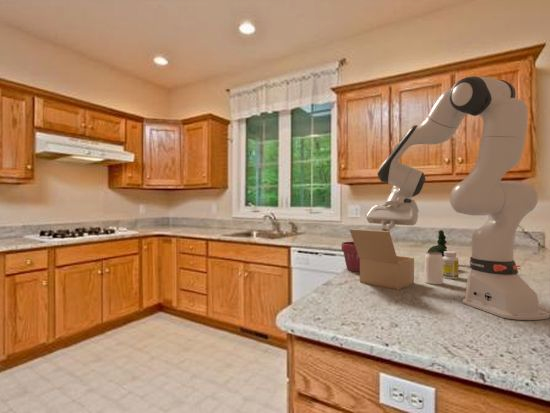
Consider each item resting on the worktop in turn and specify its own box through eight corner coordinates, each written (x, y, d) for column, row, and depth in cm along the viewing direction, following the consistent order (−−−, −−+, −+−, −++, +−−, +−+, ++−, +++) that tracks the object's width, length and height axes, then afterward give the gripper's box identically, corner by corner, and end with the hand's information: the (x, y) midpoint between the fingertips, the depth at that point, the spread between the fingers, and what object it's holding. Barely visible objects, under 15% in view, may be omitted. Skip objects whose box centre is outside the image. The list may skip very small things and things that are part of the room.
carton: (376, 276, 140) (377, 253, 140) (413, 283, 129) (414, 258, 129) (359, 282, 130) (359, 257, 130) (398, 289, 119) (398, 262, 119)
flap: (350, 228, 125) (349, 229, 125) (389, 231, 114) (388, 232, 113) (359, 257, 130) (359, 258, 130) (398, 262, 119) (397, 263, 119)
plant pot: (335, 268, 158) (335, 242, 158) (358, 265, 164) (358, 240, 164) (354, 274, 145) (354, 245, 145) (378, 271, 151) (378, 243, 151)
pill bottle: (454, 276, 141) (454, 250, 140) (461, 279, 134) (461, 253, 134) (439, 275, 141) (439, 250, 141) (445, 279, 135) (445, 252, 135)
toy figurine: (431, 265, 174) (424, 269, 153) (432, 229, 175) (425, 229, 154) (451, 267, 168) (446, 271, 148) (452, 230, 170) (447, 229, 149)
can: (445, 285, 125) (445, 254, 125) (427, 284, 126) (427, 254, 126) (440, 281, 132) (440, 251, 131) (423, 280, 133) (423, 251, 133)
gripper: (370, 200, 141) (358, 223, 134) (418, 200, 126) (407, 226, 120) (375, 210, 144) (364, 233, 137) (422, 211, 130) (412, 237, 123)
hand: (385, 230), depth 128 cm, fingers closed
